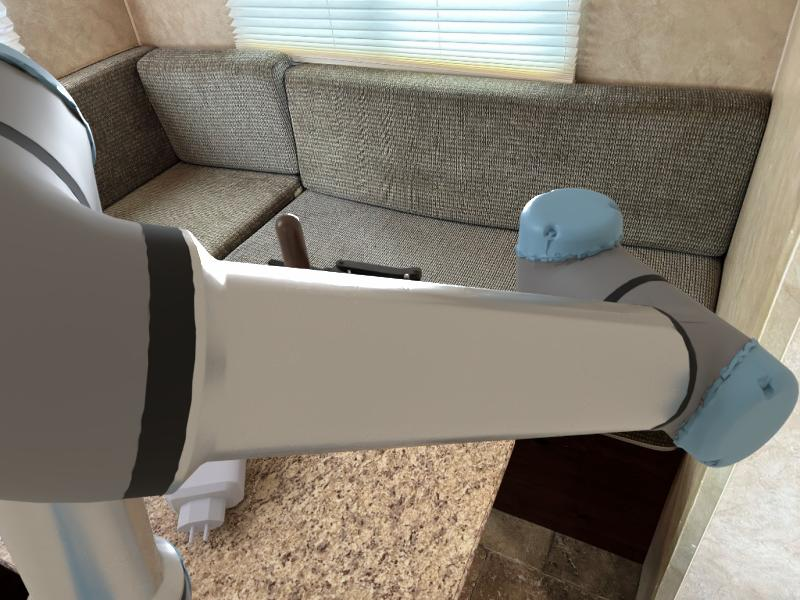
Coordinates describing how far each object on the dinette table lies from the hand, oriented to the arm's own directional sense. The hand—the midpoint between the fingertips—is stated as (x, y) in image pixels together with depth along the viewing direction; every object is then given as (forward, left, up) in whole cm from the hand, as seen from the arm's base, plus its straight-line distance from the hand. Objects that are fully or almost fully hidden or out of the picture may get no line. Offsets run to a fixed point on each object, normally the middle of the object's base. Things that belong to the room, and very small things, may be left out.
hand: (263, 278), depth 68 cm
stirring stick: (+1, -5, -12) cm, 13 cm away
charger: (-15, +3, -28) cm, 32 cm away
